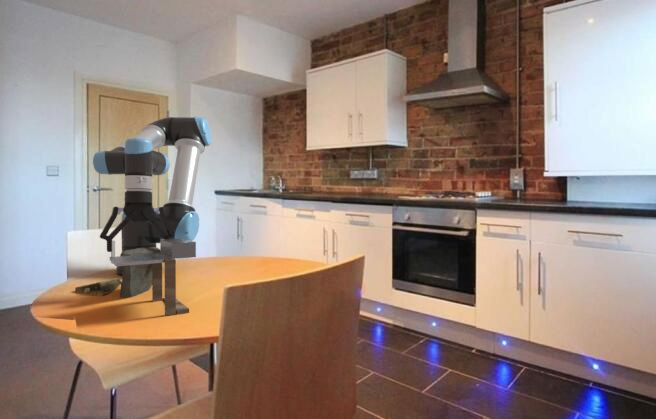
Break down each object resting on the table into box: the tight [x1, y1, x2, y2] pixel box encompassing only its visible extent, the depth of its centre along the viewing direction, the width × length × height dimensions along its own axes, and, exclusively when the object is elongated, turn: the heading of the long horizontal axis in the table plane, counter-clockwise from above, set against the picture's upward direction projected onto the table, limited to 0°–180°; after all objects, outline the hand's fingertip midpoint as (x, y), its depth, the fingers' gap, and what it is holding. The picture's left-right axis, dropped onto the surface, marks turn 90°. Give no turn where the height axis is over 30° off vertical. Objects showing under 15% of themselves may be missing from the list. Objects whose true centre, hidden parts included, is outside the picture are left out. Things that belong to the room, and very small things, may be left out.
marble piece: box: [119, 246, 160, 299], centre depth 121 cm, size 17×15×4 cm
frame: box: [151, 253, 190, 317], centre depth 109 cm, size 16×6×14 cm, turn 34°
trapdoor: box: [109, 239, 197, 267], centre depth 106 cm, size 13×19×5 cm
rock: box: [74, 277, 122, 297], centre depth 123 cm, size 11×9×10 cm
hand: (138, 261), depth 121 cm, fingers open, 13 cm apart
